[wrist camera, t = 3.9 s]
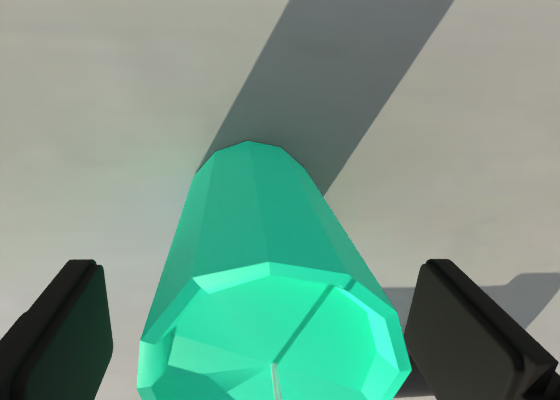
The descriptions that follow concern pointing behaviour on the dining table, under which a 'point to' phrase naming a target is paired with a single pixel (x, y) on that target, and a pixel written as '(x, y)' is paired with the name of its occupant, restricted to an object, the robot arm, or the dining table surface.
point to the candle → (266, 294)
